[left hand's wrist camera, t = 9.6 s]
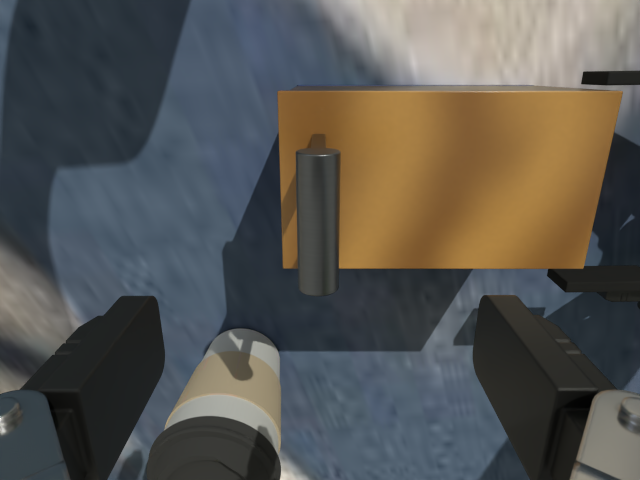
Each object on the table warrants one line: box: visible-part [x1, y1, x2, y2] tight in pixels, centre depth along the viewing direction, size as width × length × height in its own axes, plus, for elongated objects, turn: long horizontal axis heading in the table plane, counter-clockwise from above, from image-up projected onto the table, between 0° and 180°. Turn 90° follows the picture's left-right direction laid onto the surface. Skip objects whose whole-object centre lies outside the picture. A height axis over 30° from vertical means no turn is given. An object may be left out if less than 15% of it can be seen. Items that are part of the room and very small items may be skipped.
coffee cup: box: [147, 328, 281, 480], centre depth 36 cm, size 9×9×15 cm
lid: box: [277, 91, 623, 296], centre depth 22 cm, size 18×10×8 cm, turn 90°
